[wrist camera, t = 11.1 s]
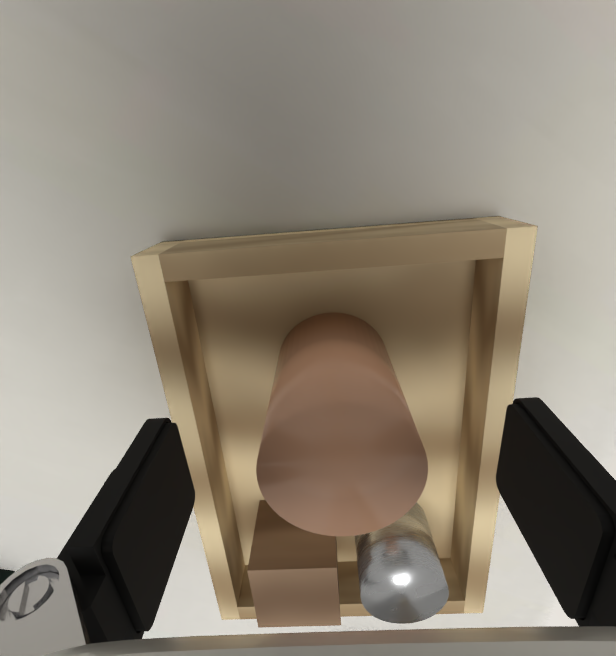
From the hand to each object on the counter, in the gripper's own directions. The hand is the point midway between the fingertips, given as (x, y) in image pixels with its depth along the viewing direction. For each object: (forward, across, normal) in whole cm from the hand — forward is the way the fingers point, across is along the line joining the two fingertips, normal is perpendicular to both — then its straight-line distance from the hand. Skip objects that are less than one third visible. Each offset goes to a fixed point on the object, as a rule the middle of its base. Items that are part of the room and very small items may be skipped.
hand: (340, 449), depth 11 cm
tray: (+7, 0, +5) cm, 9 cm away
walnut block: (+6, +2, +11) cm, 13 cm away
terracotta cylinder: (+7, 0, +1) cm, 7 cm away
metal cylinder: (+6, -3, +11) cm, 13 cm away
